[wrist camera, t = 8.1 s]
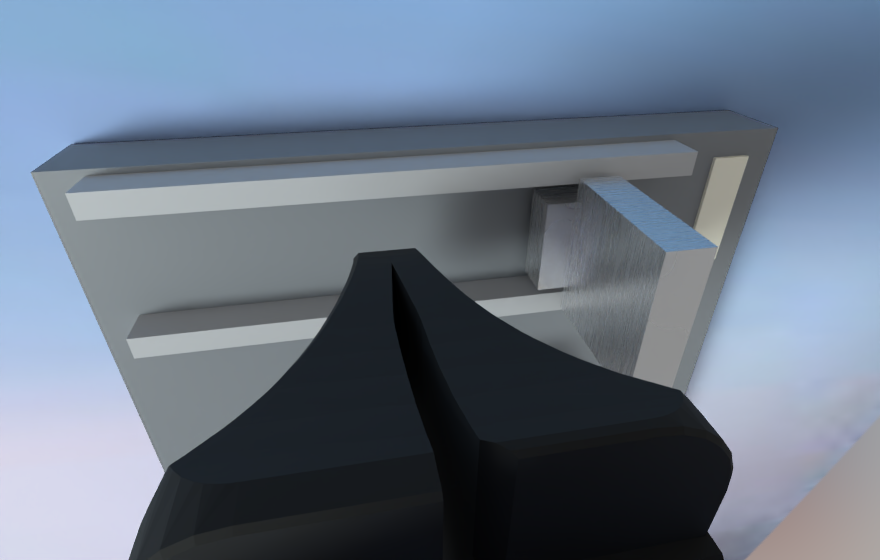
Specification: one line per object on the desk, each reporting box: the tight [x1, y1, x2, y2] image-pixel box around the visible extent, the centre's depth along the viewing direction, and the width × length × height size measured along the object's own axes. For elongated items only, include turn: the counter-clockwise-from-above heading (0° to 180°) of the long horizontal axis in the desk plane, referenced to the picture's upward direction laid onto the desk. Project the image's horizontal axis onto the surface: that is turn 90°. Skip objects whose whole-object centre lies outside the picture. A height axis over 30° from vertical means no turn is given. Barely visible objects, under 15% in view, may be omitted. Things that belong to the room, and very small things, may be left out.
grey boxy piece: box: [525, 176, 718, 388], centre depth 12 cm, size 4×2×5 cm, turn 0°
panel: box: [31, 110, 778, 472], centre depth 17 cm, size 19×18×4 cm
